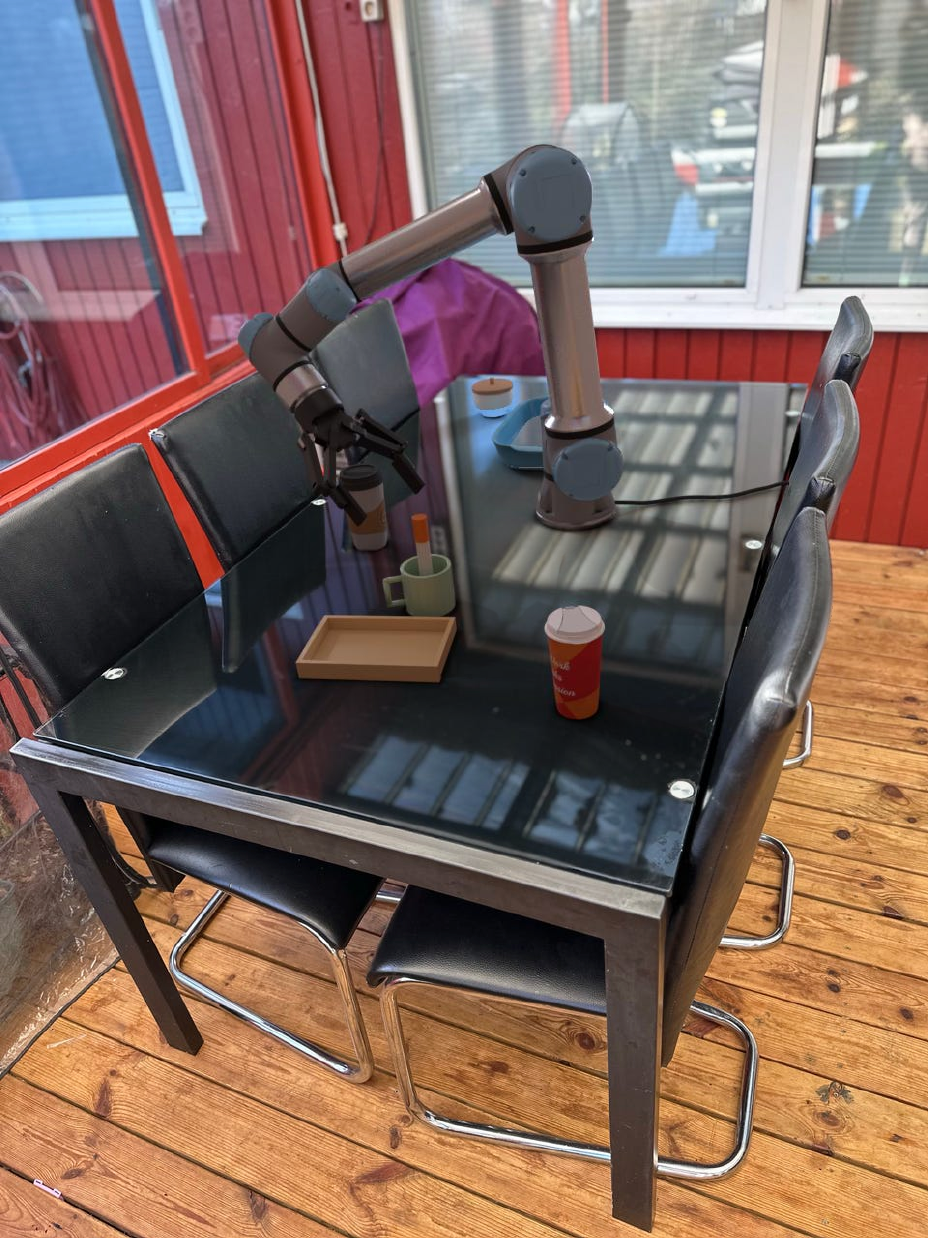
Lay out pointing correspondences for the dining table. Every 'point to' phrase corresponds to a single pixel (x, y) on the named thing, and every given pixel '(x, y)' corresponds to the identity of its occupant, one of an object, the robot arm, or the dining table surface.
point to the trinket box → (492, 393)
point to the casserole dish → (511, 429)
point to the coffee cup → (366, 504)
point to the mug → (424, 588)
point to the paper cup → (575, 659)
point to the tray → (378, 648)
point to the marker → (422, 544)
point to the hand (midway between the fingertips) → (392, 505)
